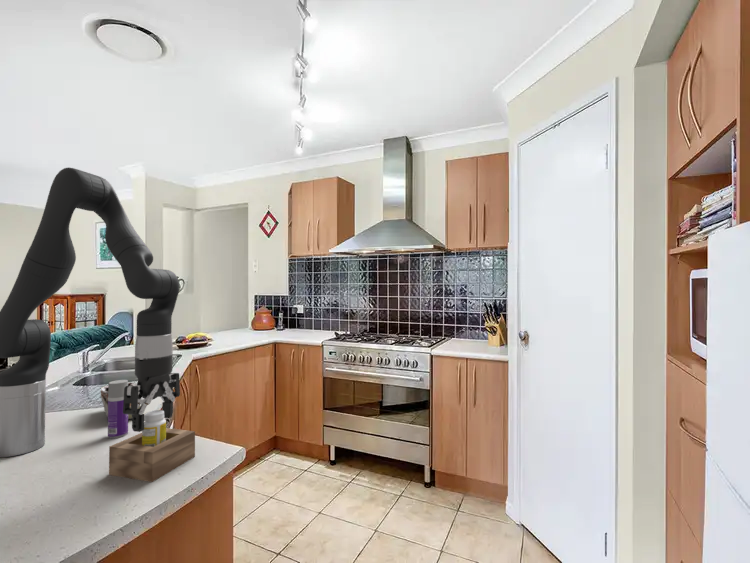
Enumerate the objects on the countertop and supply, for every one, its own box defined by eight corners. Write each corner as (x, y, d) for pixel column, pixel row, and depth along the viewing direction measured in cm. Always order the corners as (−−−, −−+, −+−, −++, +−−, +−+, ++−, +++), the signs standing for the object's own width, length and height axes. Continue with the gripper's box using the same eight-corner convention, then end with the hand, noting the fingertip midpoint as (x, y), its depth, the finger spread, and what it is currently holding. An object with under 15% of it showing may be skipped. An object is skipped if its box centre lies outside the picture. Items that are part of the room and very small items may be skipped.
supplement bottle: (161, 443, 87) (162, 408, 88) (169, 448, 84) (169, 412, 84) (138, 449, 83) (139, 413, 84) (145, 455, 80) (146, 417, 81)
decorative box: (87, 430, 106) (87, 396, 106) (89, 412, 122) (89, 383, 122) (140, 420, 114) (140, 389, 114) (135, 404, 130) (136, 377, 130)
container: (130, 434, 102) (130, 381, 102) (109, 440, 98) (110, 384, 99) (125, 430, 105) (126, 378, 105) (105, 435, 102) (106, 381, 102)
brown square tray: (108, 476, 80) (109, 446, 80) (155, 452, 91) (155, 426, 91) (152, 483, 76) (152, 452, 77) (194, 458, 88) (195, 431, 88)
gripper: (163, 348, 92) (162, 413, 92) (113, 359, 78) (112, 435, 78) (189, 349, 91) (188, 414, 90) (143, 360, 77) (142, 437, 76)
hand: (153, 424), depth 84 cm, fingers open, 8 cm apart
